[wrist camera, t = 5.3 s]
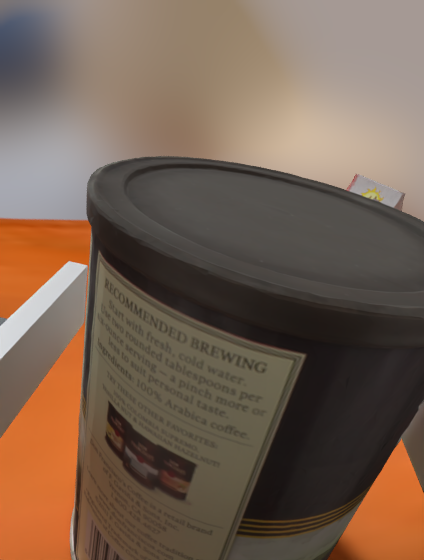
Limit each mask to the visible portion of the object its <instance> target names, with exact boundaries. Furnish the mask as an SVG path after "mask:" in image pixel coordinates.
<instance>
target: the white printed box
mask: <svg viewBox="0 0 424 560" xmlns="http://www.w3.org/2000/svg"><path fill="white" fill-rule="evenodd" d="M347 191H350V192H353V193H356V194H359V195H362V196H364V197H367V198H370V199H373V200H375V201H379V202H381V203H383V204H386V205H388V206H390V207H393V208H395V209H398V210H400V211H402V204H403V199H404V196H405V194H404V193H402V192H400V191H397V190H395V189H393V188H390V187H388V186H385V185H383V184H380V183H378V182H376V181H373V180H371V179H368V178H366V177H364V176H361V175H359V174H358V175H357V174H356V175H355V177H354V179H353V181H352V182H351V184H350V185H349V187H348V188H347Z"/></svg>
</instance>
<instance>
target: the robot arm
mask: <svg viewBox="0 0 424 560" xmlns="http://www.w3.org/2000/svg"><path fill="white" fill-rule="evenodd" d="M87 268H88V266H87V265H83V264H79V263H74V262H70V261H69V262H68V263H66V264H65V265H64V266H63V267H62V268H61V269H60V270H59V271H58V272H57V273H56V274H55V275H54V276H53V277H52V278H51V279H50V280H48V281H47V282H46V283H45V284H44V285H43V286H42V287H41V288H40V289H39V290H38V291H37V292H36V293H35V294H34V295H33V296H32V297H31V298H29V299H28V300H27V301H26V302H25V303H24V304H23V305H22V306H21V307H20V308H19V309H18V310H17V311H16V312H15V313H14V314H13V315H11V316H10V317H9V318H8V319H5V318H1V317H0V438H1V437H2V435H3V434H4V433H5V431H6V430H7V428H8V427H9V426H10V424H11V423H12V421H13V420H14V419H15V417H16V416H17V415H18V413H19V412H20V410H21V409H22V408H23V406H24V405H25V403H26V402H27V401H28V399H29V398H30V397H31V395H32V394H33V392H34V391H35V390H36V388H37V387H38V386H39V384H40V383H41V381H42V380H43V379H44V377H45V376H46V374H47V373H48V372H49V370H50V369H51V368H52V366H53V365H54V363H55V362H56V361H57V359H58V358H59V356H60V355H61V354H62V352H63V351H64V350H65V348H66V347H67V345H68V344H69V343H70V341H71V340H72V339H73V337H74V336H75V334H76V333H77V332H78V330H79V329H80V327H81V326H82V325H83V323H84V317H85V301H86V284H87ZM401 438H402V440H403V443H404V445H405V448H406V450H407V453H408V455H409V458H410V460H411V463H412V465H413V467H414V470H415V472H416V475H417V477H418V480H419V482H420V485H421V487H422V490H423V492H424V402H423V403H422V405H421V406H420V408H419V410H418V412H417V413H416V415H415V417H414V418H413V420H412V421H411V423H410V425H409V427H408V429H407V431H406V432H405V433H404V434H403V436H402V437H401Z"/></svg>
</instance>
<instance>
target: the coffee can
mask: <svg viewBox="0 0 424 560" xmlns="http://www.w3.org/2000/svg"><path fill="white" fill-rule="evenodd" d="M87 216H88V221H89V222H90V225H91V226H92V228H91V244H90V260H89V276H88V291H87V306H86V322H85V339H84V355H83V370H82V385H81V399H80V415H79V437H78V452H77V469H76V487H75V502H74V509H73V512H72V518H71V527H70V550H71V558H72V560H327V559H328V557H329V555H330V554H331V552H332V550H333V549H334V547H335V545H336V544H337V542H338V540H339V539H340V537H341V535H342V534H343V532H344V530H345V529H346V527H347V525H348V524H349V522H350V520H351V519H352V517H353V515H354V514H355V512H356V511H357V509H358V507H359V506H360V504H361V502H362V501H363V499H364V497H365V496H366V494H367V492H368V491H369V489H370V487H371V486H372V484H373V483H374V481H375V479H376V478H377V476H378V475H379V473H380V472H381V470H382V468H383V467H384V465H385V463H386V462H387V460H388V458H389V456H390V455H391V453H392V451H393V450H394V448H395V447H396V446H397V444H398V443H399V442H400V440H401V437H402V436H403V434H404V433H405V432H406V431H407V429H408V427H409V425H410V423H411V421H412V420H413V418H414V417H415V415H416V413H417V412H418V410H419V408H420V406H421V405H422V403H423V402H424V222H423V221H421V220H420V219H417V218H416V217H413V216H411V215H409V214H406V213H404V212H402V211H400V210H398V209H395V208H393V207H390V206H388V205H386V204H383V203H381V202H379V201H375V200H373V199H370V198H367V197H364V196H362V195H359V194H356V193H353V192H350V191H347V190H344V189H341V188H338V187H335V186H332V185H328V184H325V183H321V182H318V181H314V180H310V179H306V178H302V177H299V176H296V175H292V174H288V173H284V172H280V171H275V170H270V169H266V168H261V167H256V166H250V165H245V164H239V163H233V162H226V161H218V160H210V159H201V158H190V157H174V156H173V157H172V156H158V157H141V158H134V159H128V160H122V161H118V162H114V163H111V164H108V165H105V166H104V167H101V168H99V169H97V170H96V171H95V172H94V173H93V174H92V175H91V177H90V179H89V181H88V185H87Z"/></svg>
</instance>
